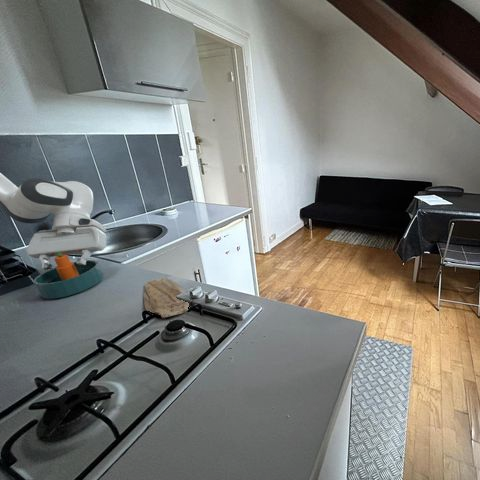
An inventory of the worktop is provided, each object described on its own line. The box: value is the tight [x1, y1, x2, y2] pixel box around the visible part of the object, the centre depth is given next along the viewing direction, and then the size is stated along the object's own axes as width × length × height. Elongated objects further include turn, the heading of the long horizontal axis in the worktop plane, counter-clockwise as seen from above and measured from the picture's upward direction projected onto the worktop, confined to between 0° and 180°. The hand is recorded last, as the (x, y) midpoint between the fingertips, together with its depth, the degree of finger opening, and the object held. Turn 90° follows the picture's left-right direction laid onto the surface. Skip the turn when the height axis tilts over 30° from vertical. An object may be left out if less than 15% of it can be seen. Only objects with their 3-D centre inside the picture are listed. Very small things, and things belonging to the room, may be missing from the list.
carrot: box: [53, 252, 79, 281], centre depth 81 cm, size 4×4×11 cm
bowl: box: [32, 259, 104, 300], centre depth 83 cm, size 15×15×6 cm
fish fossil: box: [142, 277, 190, 319], centre depth 75 cm, size 26×10×1 cm, turn 48°
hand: (63, 266), depth 81 cm, fingers open, 8 cm apart
